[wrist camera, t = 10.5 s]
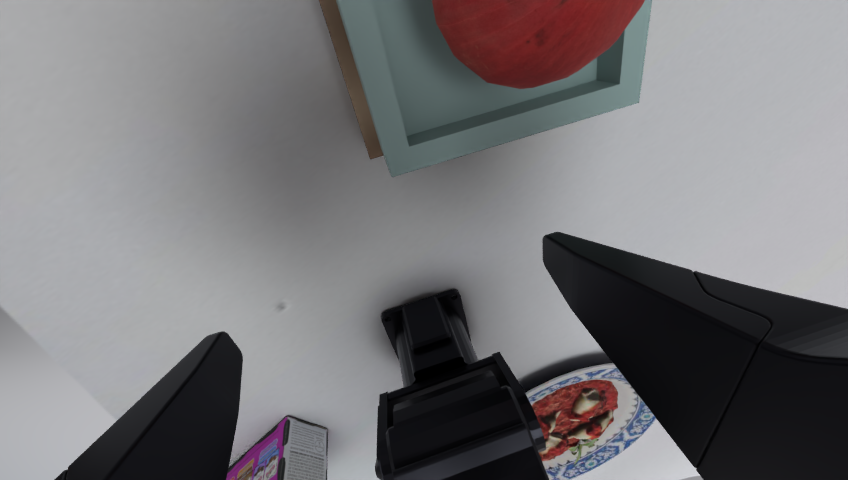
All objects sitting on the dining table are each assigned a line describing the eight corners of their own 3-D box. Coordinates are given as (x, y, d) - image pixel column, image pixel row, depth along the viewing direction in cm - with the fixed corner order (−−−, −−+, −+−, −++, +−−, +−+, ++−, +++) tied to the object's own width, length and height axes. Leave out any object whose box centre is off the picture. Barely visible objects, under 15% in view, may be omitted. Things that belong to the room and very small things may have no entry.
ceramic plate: (428, 416, 36) (435, 444, 33) (651, 313, 35) (675, 334, 32) (493, 494, 50) (501, 518, 47) (653, 422, 49) (670, 443, 46)
